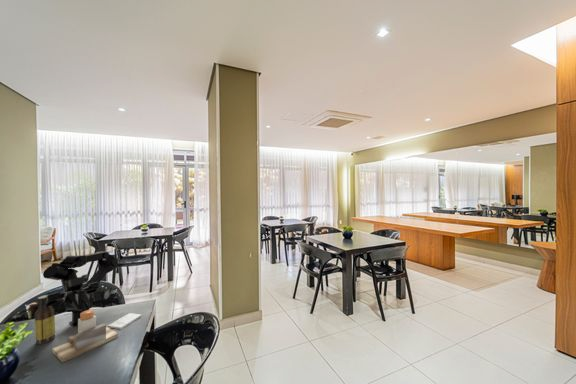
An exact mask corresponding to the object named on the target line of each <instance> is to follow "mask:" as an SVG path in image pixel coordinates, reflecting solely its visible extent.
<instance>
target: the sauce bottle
mask: <svg viewBox="0 0 576 384" xmlns="http://www.w3.org/2000/svg"><path fill="white" fill-rule="evenodd" d="M47 295H48V294H45V295H42V296H41V295H40V296H38V297H37V303H38V307H37V308H38V309H37V310H36V311H35V313H34V335H35V338H34V339H35V343H36V345H42V344H46V343H48V342H50V341H53V340H54V339H55V337H56V322H55V321H56V317H55V309H54V307H53V305H50V306H45V299H46V297H47Z"/></svg>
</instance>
